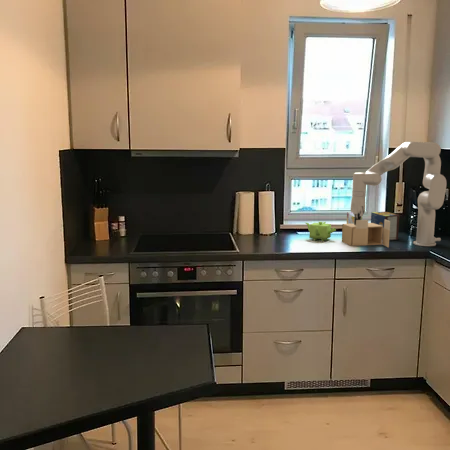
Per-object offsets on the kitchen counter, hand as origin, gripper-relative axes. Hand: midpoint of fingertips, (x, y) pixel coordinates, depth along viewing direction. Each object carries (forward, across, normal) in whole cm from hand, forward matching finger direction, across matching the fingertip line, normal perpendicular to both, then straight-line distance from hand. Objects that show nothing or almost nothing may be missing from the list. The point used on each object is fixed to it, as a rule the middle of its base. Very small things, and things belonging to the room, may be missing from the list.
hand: (357, 225), depth 309 cm
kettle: (+12, -20, -15) cm, 28 cm away
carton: (+12, -5, +6) cm, 14 cm away
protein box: (+12, -18, +27) cm, 35 cm away
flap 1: (+11, +3, +1) cm, 12 cm away
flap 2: (+11, +6, +15) cm, 20 cm away
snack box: (+12, -22, +8) cm, 26 cm away
